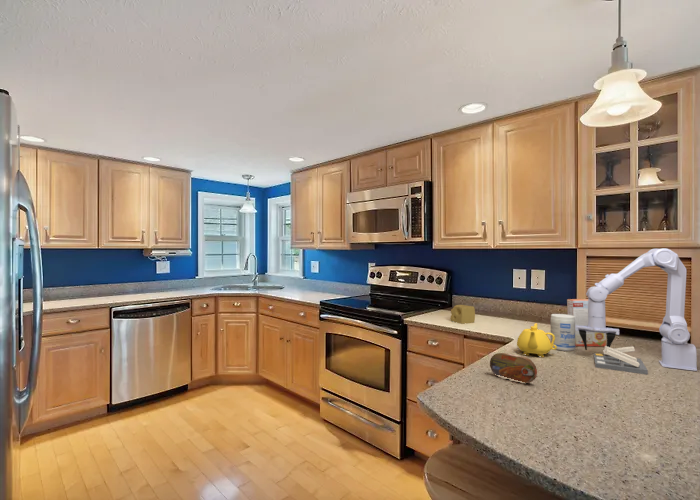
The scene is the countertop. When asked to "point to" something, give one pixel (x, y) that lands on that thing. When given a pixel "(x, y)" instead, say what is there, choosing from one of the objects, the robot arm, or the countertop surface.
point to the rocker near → (622, 358)
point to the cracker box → (584, 323)
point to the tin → (513, 367)
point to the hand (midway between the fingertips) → (596, 350)
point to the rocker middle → (620, 353)
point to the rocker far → (623, 349)
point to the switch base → (618, 364)
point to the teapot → (535, 341)
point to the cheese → (463, 314)
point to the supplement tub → (563, 331)
